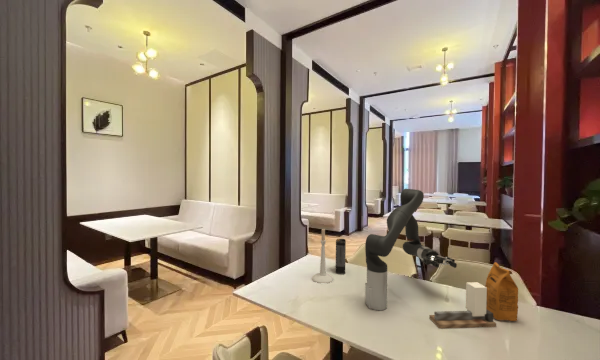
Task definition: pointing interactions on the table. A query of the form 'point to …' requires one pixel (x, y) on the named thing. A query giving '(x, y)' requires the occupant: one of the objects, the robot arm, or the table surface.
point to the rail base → (461, 319)
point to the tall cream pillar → (476, 298)
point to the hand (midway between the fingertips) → (446, 265)
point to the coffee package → (501, 294)
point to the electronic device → (340, 256)
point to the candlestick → (322, 265)
